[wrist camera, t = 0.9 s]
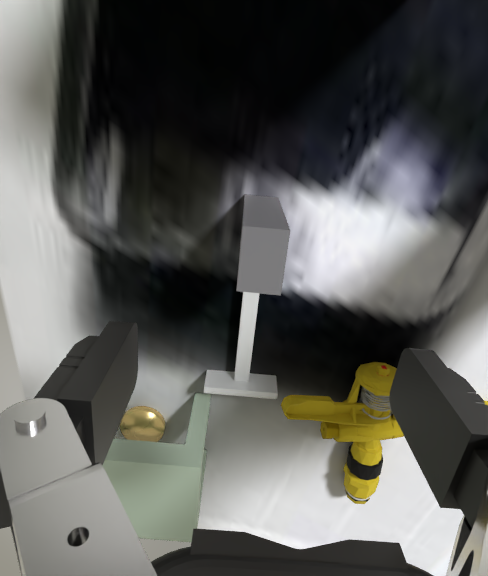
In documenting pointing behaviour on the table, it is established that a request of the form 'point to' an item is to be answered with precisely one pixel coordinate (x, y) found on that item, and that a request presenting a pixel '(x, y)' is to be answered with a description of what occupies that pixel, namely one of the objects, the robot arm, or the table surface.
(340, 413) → the sprinkler
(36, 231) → the table surface
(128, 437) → the token
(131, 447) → the footstool
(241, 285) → the block
